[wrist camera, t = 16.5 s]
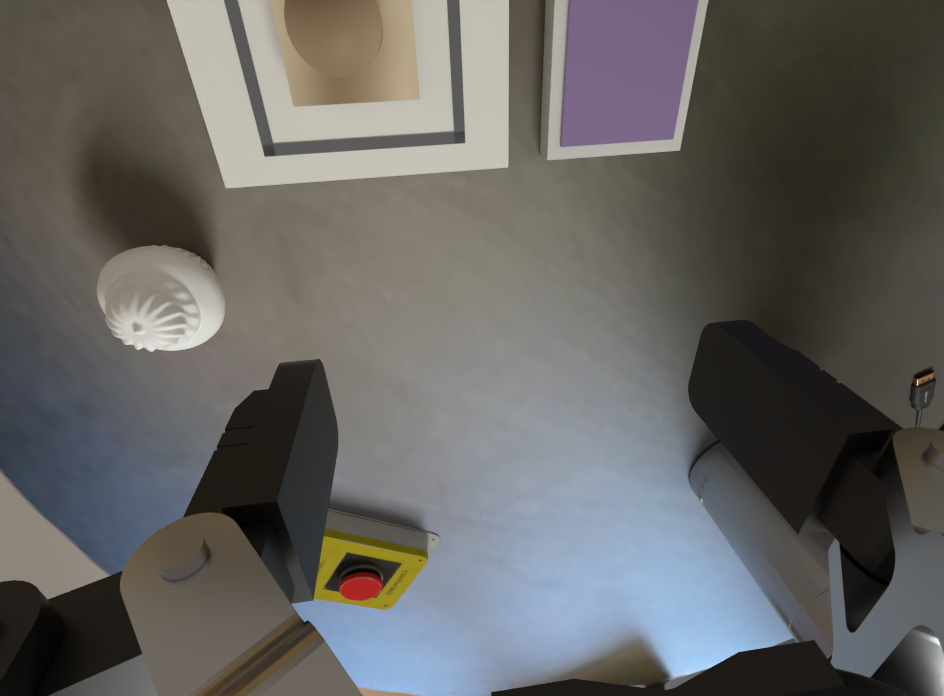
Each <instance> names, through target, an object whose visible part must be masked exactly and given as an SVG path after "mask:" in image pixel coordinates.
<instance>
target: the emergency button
mask: <svg viewBox="0 0 944 696" xmlns="http://www.w3.org/2000/svg"><path fill="white" fill-rule="evenodd" d="M439 542H440V537H439V535H437V534H435V533H431V532H427V531H423V530H418V529H414V528H410V527H406V526H401V525H397V524H393V523H388V522H384V521H380V520H376V519H371V518H367V517H363V516H359V515H354V514H350V513H346V512H341V511H337V510H333V509H329V508H328V513H327V519H326V525H325V532H324V538H323V544H322V550H321V556H320V563H319V569H318V575H317V581H316V587H315V593H314V599H318V600H324V601H331V602H337V603H344V604H350V605H357V606H363V607H370V608H376V609H389V608H391V607H392V606H394V604H395V603H396V602H397V601H398V599H399V598H400V597H401V595H402V594H403V593H404V592H405V590H406V589H407V588H408V587H409V585H410V584H411V583H412V582H413V580H414V579H415V578H416V577H417V575H418V574H419V573H420V571H421V570H422V569H423V568H424V566H425V565H426V564H427V561H428V556H429V555H430V554H431V553H432V551H433V550H434V549H435V548H436V546H437V545H438V544H439Z"/></svg>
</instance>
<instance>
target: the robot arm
mask: <svg viewBox="0 0 944 696" xmlns="http://www.w3.org/2000/svg"><path fill="white" fill-rule="evenodd" d="M688 392H689V398H690V402H691V404H692V407H693V409H694V410H695V412H696V413H697V414H698V415H699V416H700V418H701V419H702V420H703V421H704V422H705V424H706V425H707V426H708V427H709V428H710V430H711V431H712V432H713V433H714V434H715V436H716V437H717V438H718V439H719V440H720V442H719V443H717V444H715V445H714V446H712V447H711V448H710V449H708V450H707V451H706V452H705V453H704V454H703V455H702V456H701V457H700V458H699V459H698V460H697V462H696V463H695V465H694V466H693V468H692V471H691V473H690V479H689V481H690V486H691V488H692V490H693V491H694V493H695V494H696V496H697V497H698V498H699V500H700V502H701V503H702V504H703V506H704V507H705V509H706V510H707V512H708V513H709V515H710V516H711V517H712V519H713V521H714V522H715V524H716V525H717V526H718V528H719V529H720V531H721V532H722V534H723V535H724V537H725V538H726V540H727V541H728V543H729V544H730V545H731V547H732V548H733V550H734V551H735V553H736V554H737V556H738V557H739V559H740V560H741V562H742V563H743V564H744V566H745V567H746V569H747V570H748V572H749V573H750V575H751V576H752V578H753V579H754V581H755V582H756V583H757V585H758V586H759V588H760V589H761V591H762V592H763V594H764V595H765V597H766V598H767V600H768V601H769V602H770V604H771V605H772V607H773V608H774V610H775V611H776V613H777V614H778V616H779V617H780V619H781V620H782V621H783V623H784V624H785V626H786V627H787V629H788V630H789V632H790V633H791V634H792V636H793V637H794V639H795V640H796V642H797V643H792V644H786V645H780V646H774V647H768V648H762V649H755V650H749V651H743V652H738V653H736V654H735V655H733V656H731V657H729V658H728V659H726V660H724V661H722V662H720V663H719V664H717V665H715V666H713V667H711V668H710V669H708V670H706V671H704V672H703V673H701V674H699V675H697V676H695V677H694V678H692V679H690V680H688V681H687V682H685V683H683V684H682V685H679V686H678V687H676V688H673V689H670V690H655V689H648V688H640V687H632V686H625V685H617V684H610V683H602V682H595V681H587V680H579V679H570V680H564V681H558V682H552V683H546V684H540V685H534V686H527V687H521V688H515V689H509V690H503V691H497V692H491V696H944V431H941V430H936V429H931V428H923V427H911V428H905V429H903V428H902V427H900V426H899V425H898V424H896V423H895V422H894V421H892V420H891V419H889V418H888V417H887V416H885V415H884V414H883V413H881V412H880V411H879V410H877V409H876V408H875V407H873V406H872V405H870V404H869V403H868V402H866V401H865V400H864V399H862V398H861V397H860V396H858V395H857V394H856V393H854V392H853V391H852V390H850V389H849V388H847V387H846V386H845V385H843V384H842V383H839V384H838V383H837V379H835V378H834V377H833V376H831V375H830V374H828V373H827V372H826V371H824V370H822V371H821V370H820V367H819V366H818V365H816V364H815V363H814V362H812V361H811V360H810V359H808V358H807V357H805V356H804V355H803V354H801V353H800V352H798V351H796V350H794V349H791V348H789V347H787V346H785V345H783V344H780V343H778V342H777V341H776V340H774V339H773V338H772V337H770V336H769V335H768V334H766V333H765V332H764V331H762V330H761V329H760V328H758V327H757V326H756V325H754V324H753V323H752V322H750V321H748V320H737V321H726V322H716V323H709V324H707V325H706V326H705V327H704V329H703V331H702V333H701V337H700V341H699V345H698V349H697V352H696V356H695V360H694V364H693V368H692V372H691V376H690V380H689V385H688ZM337 451H338V427H337V421H336V416H335V412H334V408H333V404H332V399H331V395H330V391H329V387H328V383H327V378H326V374H325V370H324V367H323V364H322V362H321V360H320V359H316V360H305V361H295V362H284V363H280V364H279V365H278V367H277V370H276V372H275V375H274V377H273V380H272V382H271V385H270V387H269V389H267V390H257V391H253V392H252V393H251V394H250V395H249V396H248V397H247V398H246V399H245V400H244V401H243V402H241V403H240V404H239V405H238V406H237V407H236V408H235V409H234V411H233V413H232V415H231V417H230V420H229V422H228V424H227V426H226V428H225V433H223V434H222V436H221V439H220V441H219V443H218V445H217V450H216V451H214V453H213V455H212V457H211V460H210V462H209V464H208V466H207V468H206V470H205V472H204V474H203V476H202V479H201V481H200V483H199V485H198V487H197V489H196V491H195V493H194V495H193V497H192V500H191V502H190V504H189V506H188V508H187V510H186V512H185V514H184V516H183V518H181V519H179V520H176V521H174V522H172V523H170V524H168V525H166V526H165V527H163V528H162V529H160V530H158V531H157V532H156V533H154V534H153V535H152V536H150V537H149V538H148V539H147V540H146V541H144V542H143V543H142V544H141V545H140V546H139V547H138V549H137V550H136V551H135V552H134V553H133V554H132V556H131V557H130V559H129V560H128V562H127V564H126V566H125V568H124V570H123V571H121V572H118V573H116V574H114V575H111V576H109V577H106V578H104V579H101V580H98V581H96V582H93V583H91V584H88V585H85V586H83V587H80V588H77V589H75V590H72V591H70V592H67V593H64V594H62V595H59V596H56V597H54V598H51V599H48V600H47V599H46V597H45V596H44V595H43V594H42V593H41V592H40V591H39V590H38V588H37V587H36V586H34V585H33V584H31V583H29V582H25V581H15V580H13V581H4V582H0V696H363V695H362V694H361V693H360V691H359V690H358V688H357V687H356V685H355V684H354V682H353V681H352V679H351V678H350V676H349V675H348V674H347V672H346V671H345V669H344V668H343V666H342V665H341V663H340V662H339V661H338V659H337V658H336V656H335V655H334V653H333V652H332V650H331V649H330V647H329V646H328V645H327V643H326V642H325V640H324V639H323V637H322V636H321V635H320V633H319V632H318V631H317V629H316V628H315V627H314V626H313V625H312V624H311V623H310V622H309V621H306V622H304V621H303V620H302V619H301V617H300V616H299V615H298V613H297V612H296V610H295V609H294V607H293V606H292V603H299V602H306V601H313V600H314V593H315V587H316V581H317V575H318V569H319V563H320V556H321V550H322V544H323V538H324V532H325V525H326V519H327V513H328V507H329V501H330V495H331V488H332V482H333V476H334V470H335V464H336V458H337Z"/></svg>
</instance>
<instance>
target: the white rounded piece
mask: <svg viewBox="0 0 944 696" xmlns="http://www.w3.org/2000/svg"><path fill="white" fill-rule="evenodd" d="M219 281H220V280H219V279H218V277H217V276H216V274H215V273H214V271H213V270H212V268H211V267H210V265H209V264H207V263H206V261H205V260H203V259H201V257H200V256H197V255H196V254H195V253H192V252H190V251H187V250H184V249H181V248H174V247H170V246H166V245H162V246H157V245H151V246H144V247H137V248H133V249H129V250H127V251H124V252H122V253H120V254H118V255H116V256H115V257H113V258H112V259H111V260H109V261H108V262H107V264H106V265H105V266H104V267H103V269H102V271H101V273H100V275H99V278H98V282H97V297H98V301H99V304H100V306H101V308H102V310H103V311H104V313H105V314H106V318H105V321H106V324H107V325H108V327H109V328H111V331H112V334H113V335H114V336H115V337H117V338H122V342H123V343H124V344H126V345H131V344H132V345H134V346H135V348H136V349H137V350H139V349H141V348H146V349H147V350H148V351H151V352H152V351H154V350H155V349H159V350H169V351H175V350H184V349H189V348H192V347H195V346H197V345H200V344H202V343H203V342H205V341H207V340H208V339H209V338H211V337H212V336H213V335H214V334H215V333H216V332H217V331H218V329H219V328H220V326H221V324H222V322H223V319H224V315H225V299H224V294H223V291H222V290H223V288H222V286H221V284H220V283H219Z"/></svg>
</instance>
